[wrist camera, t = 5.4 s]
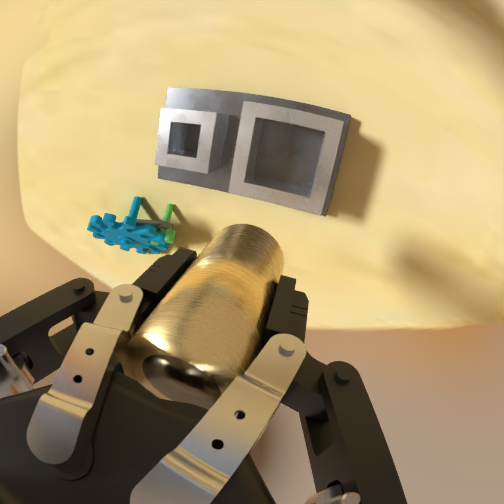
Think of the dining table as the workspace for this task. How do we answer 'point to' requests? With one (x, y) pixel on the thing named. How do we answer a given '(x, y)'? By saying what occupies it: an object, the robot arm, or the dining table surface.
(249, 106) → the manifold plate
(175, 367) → the cylinder
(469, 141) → the dining table surface
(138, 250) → the gear
